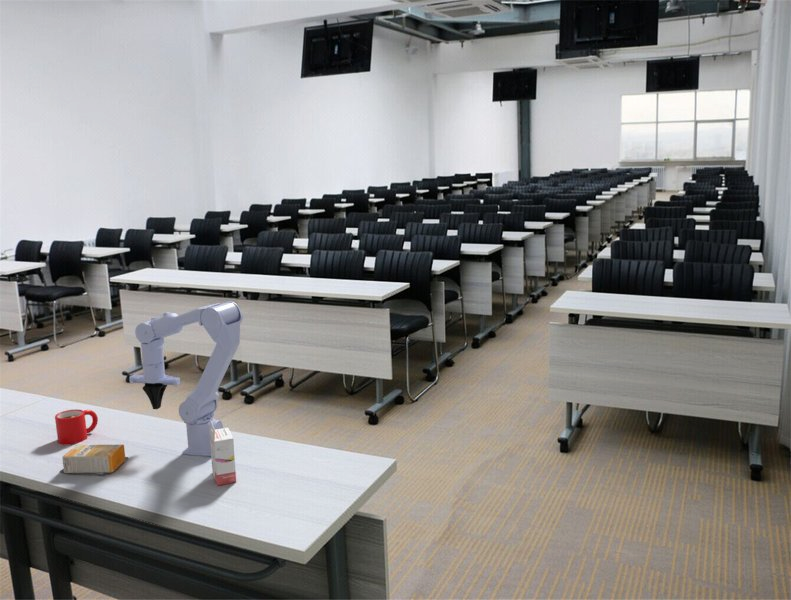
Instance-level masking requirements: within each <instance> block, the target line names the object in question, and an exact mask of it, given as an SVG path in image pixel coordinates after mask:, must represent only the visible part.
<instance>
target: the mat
mask: <svg viewBox="0 0 791 600" xmlns="http://www.w3.org/2000/svg"><path fill="white" fill-rule="evenodd" d="M128 459H129V457H128V456H125V461H127V460H128ZM59 473H60V474H65V473H64V468H62V469H61V470H59ZM109 473H110V472H99V473H70V474H71V475H72V474H73V475H86V476H99V477H105V476H106V475H108V474H109Z"/></svg>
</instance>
